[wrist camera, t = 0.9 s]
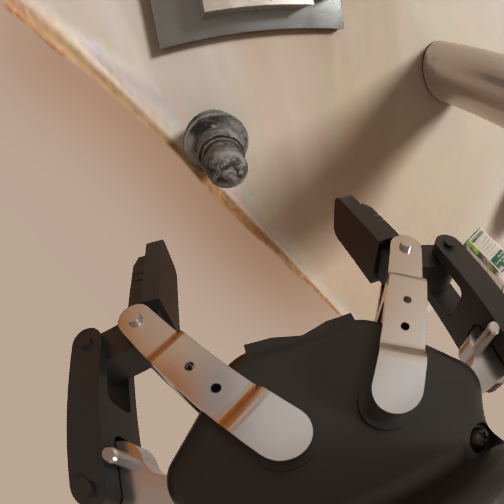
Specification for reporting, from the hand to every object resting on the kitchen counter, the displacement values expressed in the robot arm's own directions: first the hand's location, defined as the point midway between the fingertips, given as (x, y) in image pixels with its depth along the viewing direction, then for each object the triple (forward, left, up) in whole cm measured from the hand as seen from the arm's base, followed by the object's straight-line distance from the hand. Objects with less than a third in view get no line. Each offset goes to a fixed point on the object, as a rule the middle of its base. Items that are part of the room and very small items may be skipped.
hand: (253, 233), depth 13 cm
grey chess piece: (0, 0, -18) cm, 18 cm away
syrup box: (-52, +30, -18) cm, 63 cm away
